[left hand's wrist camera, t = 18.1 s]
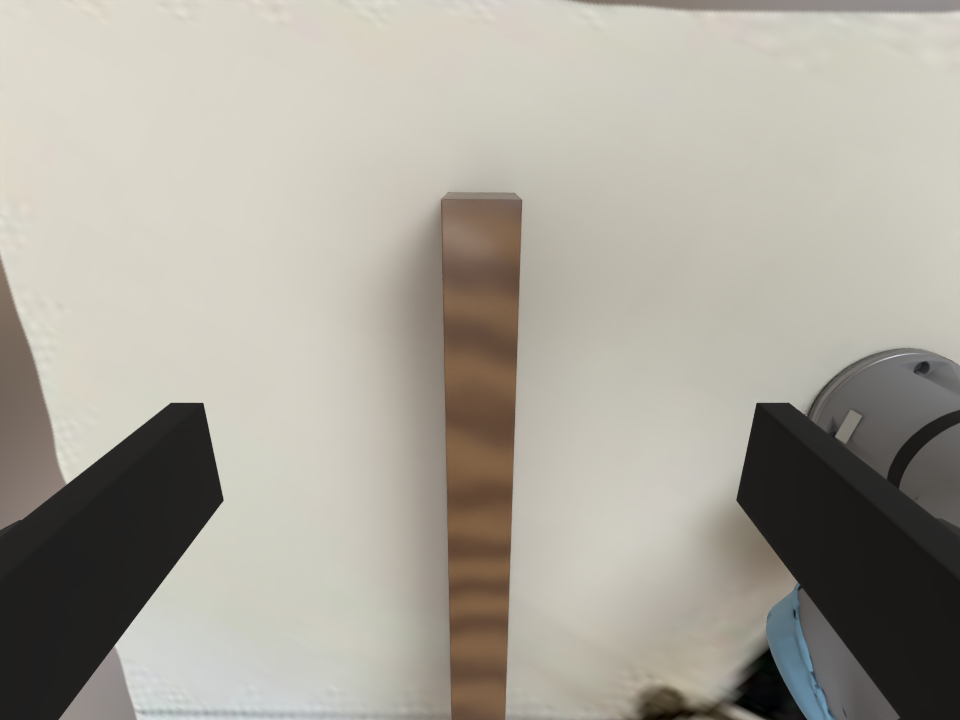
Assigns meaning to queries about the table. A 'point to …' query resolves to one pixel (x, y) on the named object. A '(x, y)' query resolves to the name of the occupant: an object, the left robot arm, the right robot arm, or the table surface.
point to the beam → (480, 438)
